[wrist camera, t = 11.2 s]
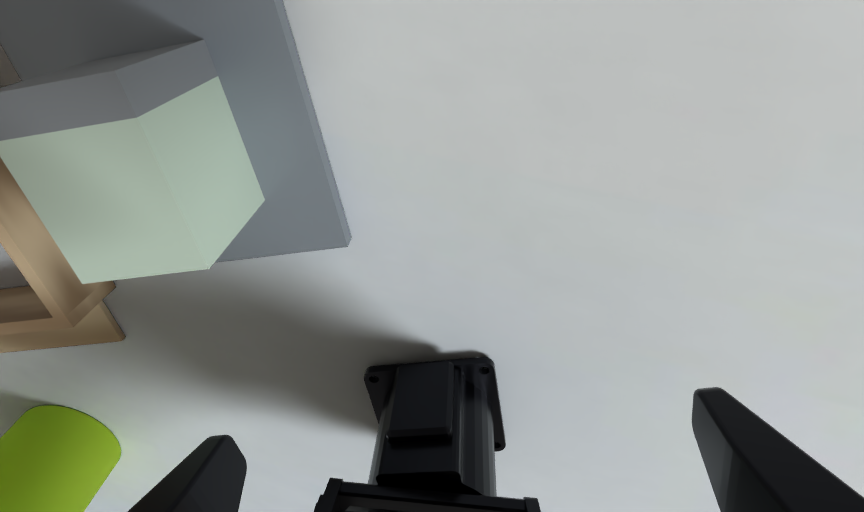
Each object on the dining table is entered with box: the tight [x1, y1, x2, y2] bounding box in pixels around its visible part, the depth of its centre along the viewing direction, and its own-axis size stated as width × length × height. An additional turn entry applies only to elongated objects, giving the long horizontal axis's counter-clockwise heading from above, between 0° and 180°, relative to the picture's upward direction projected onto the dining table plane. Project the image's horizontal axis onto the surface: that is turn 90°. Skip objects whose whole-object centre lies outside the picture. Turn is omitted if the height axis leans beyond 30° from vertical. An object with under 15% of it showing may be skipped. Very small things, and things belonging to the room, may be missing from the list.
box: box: [0, 40, 265, 284], centre depth 17 cm, size 6×4×5 cm
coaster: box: [0, 0, 352, 263], centre depth 19 cm, size 11×10×1 cm
